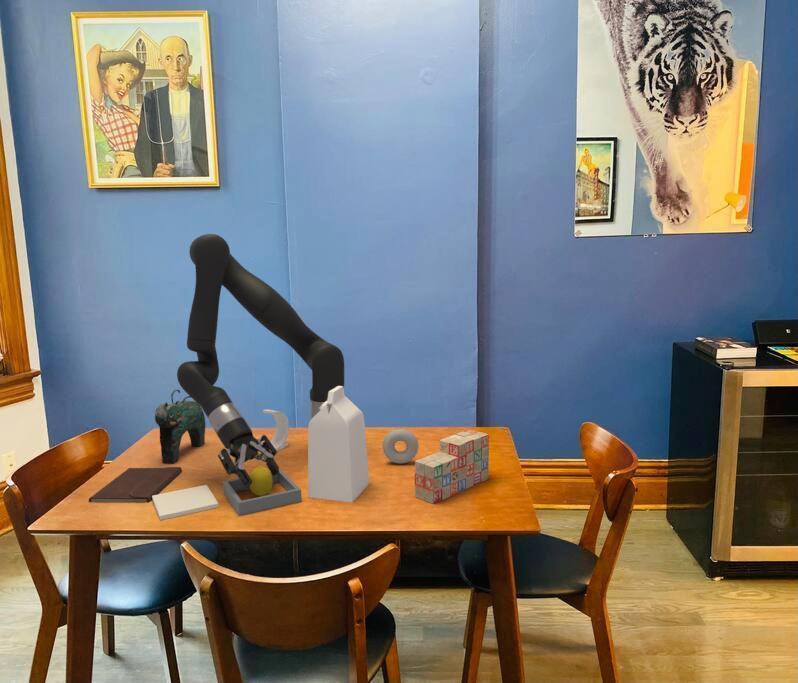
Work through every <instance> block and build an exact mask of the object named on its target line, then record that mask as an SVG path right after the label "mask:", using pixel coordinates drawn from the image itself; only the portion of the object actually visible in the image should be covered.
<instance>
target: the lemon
mask: <svg viewBox="0 0 798 683" xmlns="http://www.w3.org/2000/svg"><path fill="white" fill-rule="evenodd" d="M270 472H271V471H270V470H269V468H268V467H264V466H262V465H258V466H257V467H255V468H253V470H252V471H251V473H250V475H249V476H250V478H251V480H252V483H251V485H250V489H249V490H250V491H251V492H252V493H253V494H254V495H256V496H257V497H261V496H266V495H268V493H269V492H271V490H272V487H273V485H274V484H273V481H272V475H271V473H270Z"/></svg>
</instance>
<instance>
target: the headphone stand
mask: <svg viewBox="0 0 798 683" xmlns="http://www.w3.org/2000/svg"><path fill="white" fill-rule="evenodd" d="M262 413H263V414H269V415H272V417H273V418H274V422H275V430H274V435H273V437H272V439H271V440H270V442H271V444H272V445H273V446H274V448H275V449H276V451H277V452H278V451H280V450H282V449H285V448H286V447H288V445H289V444H288V443H287V439H288V437H289V433H290V423H289V419H288V417H287V415H286V414H285V413H284V412H282V411H278V410H272V409H263V411H262Z"/></svg>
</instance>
